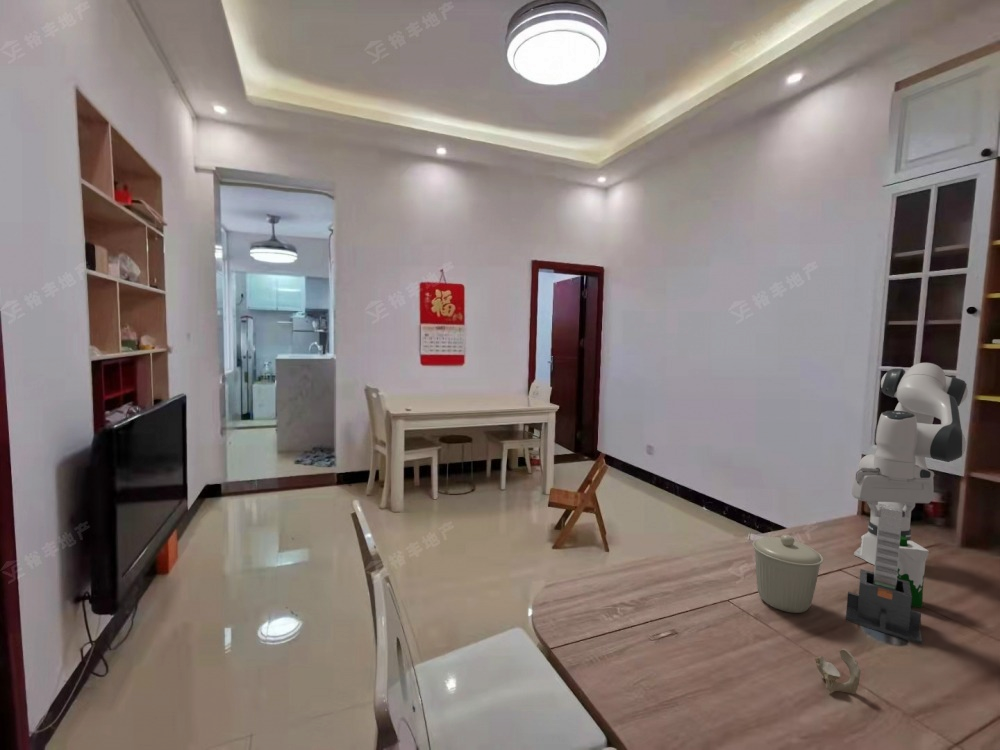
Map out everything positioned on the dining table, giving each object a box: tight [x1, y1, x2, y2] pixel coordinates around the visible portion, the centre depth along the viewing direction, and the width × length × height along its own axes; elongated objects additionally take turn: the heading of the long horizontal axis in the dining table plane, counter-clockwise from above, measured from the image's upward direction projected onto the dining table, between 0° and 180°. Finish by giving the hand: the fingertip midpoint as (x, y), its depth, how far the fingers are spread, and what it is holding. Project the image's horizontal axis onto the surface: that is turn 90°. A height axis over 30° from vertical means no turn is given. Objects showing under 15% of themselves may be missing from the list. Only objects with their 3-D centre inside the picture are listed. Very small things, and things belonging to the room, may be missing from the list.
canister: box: [751, 534, 824, 614], centre depth 136 cm, size 18×18×21 cm
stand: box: [845, 568, 923, 645], centre depth 130 cm, size 16×16×11 cm
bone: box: [814, 648, 862, 695], centre depth 103 cm, size 9×6×10 cm
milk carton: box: [897, 536, 930, 609], centre depth 140 cm, size 9×9×20 cm
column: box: [873, 504, 902, 590], centre depth 129 cm, size 6×5×24 cm
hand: (889, 516), depth 129 cm, fingers closed on column, 7 cm apart
